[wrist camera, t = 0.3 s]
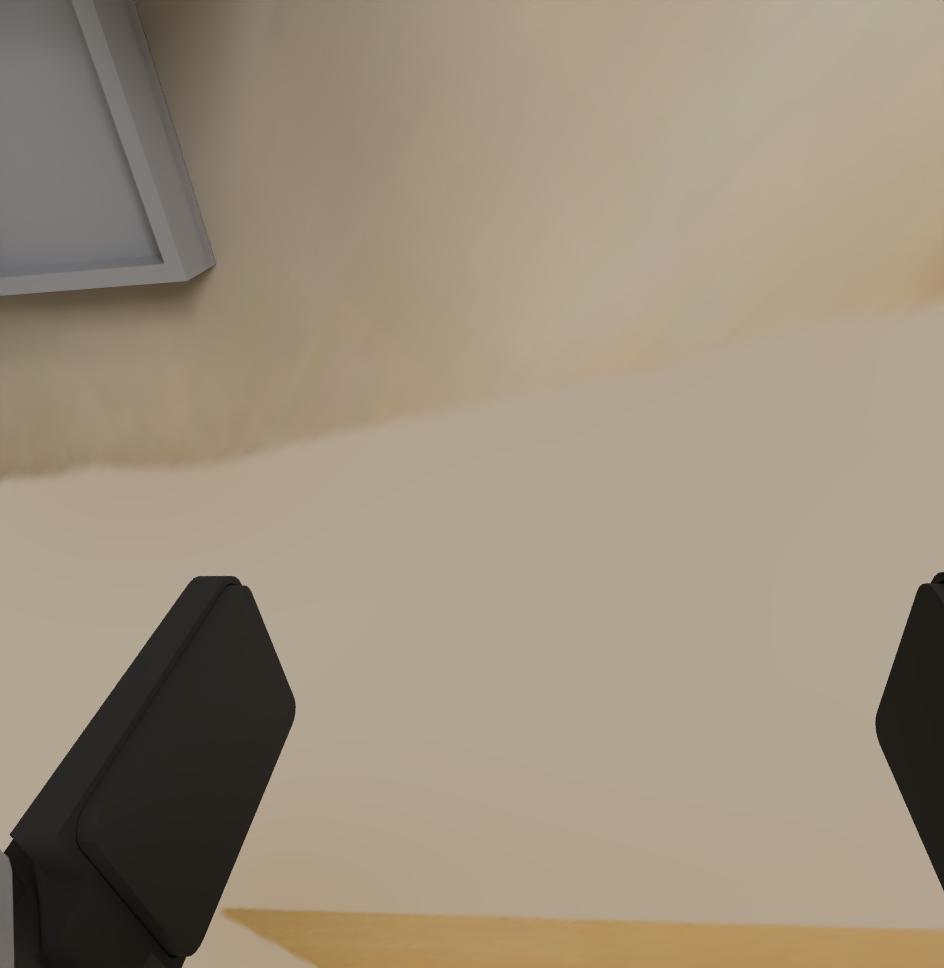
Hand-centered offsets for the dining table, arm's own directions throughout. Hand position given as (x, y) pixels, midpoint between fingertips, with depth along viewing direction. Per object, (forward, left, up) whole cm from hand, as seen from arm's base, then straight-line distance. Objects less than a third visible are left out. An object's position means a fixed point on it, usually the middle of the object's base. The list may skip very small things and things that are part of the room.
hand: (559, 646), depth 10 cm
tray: (-7, -29, -31) cm, 43 cm away
